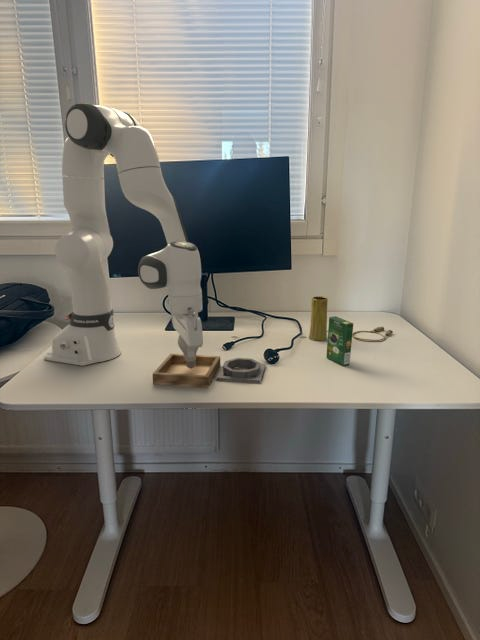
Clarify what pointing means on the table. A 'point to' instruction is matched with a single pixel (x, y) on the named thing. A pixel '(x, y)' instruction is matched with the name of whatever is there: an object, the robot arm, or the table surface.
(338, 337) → the coffee box
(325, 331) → the vase
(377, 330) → the extension cord
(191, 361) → the lightbulb
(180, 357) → the tray
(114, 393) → the table surface
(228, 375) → the socket
